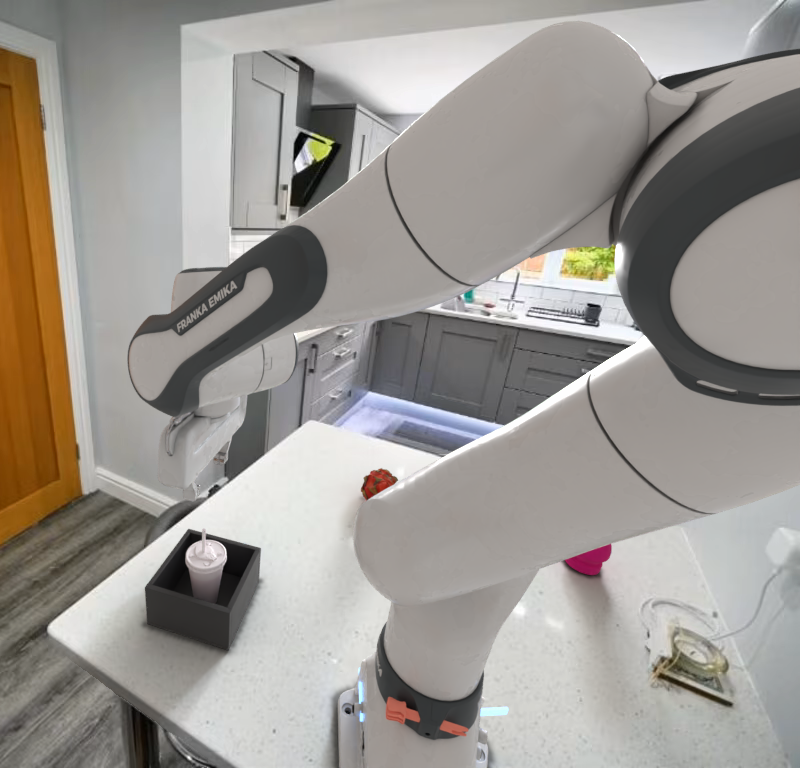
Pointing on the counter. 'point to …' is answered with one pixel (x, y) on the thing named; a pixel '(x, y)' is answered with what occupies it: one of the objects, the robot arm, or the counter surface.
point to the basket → (198, 618)
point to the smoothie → (206, 568)
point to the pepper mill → (590, 560)
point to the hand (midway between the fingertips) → (207, 479)
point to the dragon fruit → (377, 482)
